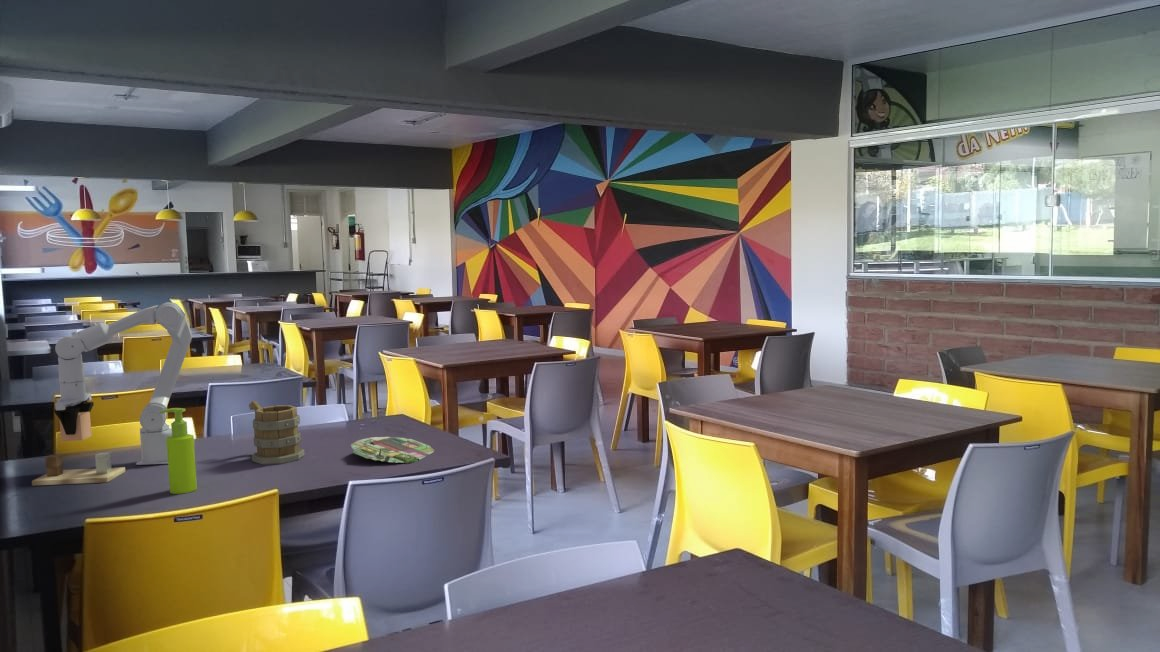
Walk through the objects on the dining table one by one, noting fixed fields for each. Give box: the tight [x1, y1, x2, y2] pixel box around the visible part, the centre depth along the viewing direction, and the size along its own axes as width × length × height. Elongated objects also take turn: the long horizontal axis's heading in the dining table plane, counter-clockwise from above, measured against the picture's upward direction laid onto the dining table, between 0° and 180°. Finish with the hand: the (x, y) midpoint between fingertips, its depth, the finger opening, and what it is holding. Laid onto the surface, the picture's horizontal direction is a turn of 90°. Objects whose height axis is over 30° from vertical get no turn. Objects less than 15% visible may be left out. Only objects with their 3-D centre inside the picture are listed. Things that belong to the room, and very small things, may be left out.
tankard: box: [248, 400, 306, 465], centre depth 232 cm, size 20×13×15 cm, turn 47°
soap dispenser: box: [160, 407, 198, 495], centre depth 199 cm, size 6×7×20 cm
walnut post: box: [44, 453, 64, 477], centre depth 213 cm, size 3×3×5 cm
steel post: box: [94, 451, 113, 474], centre depth 214 cm, size 3×3×5 cm
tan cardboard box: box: [58, 411, 92, 442], centre depth 221 cm, size 5×5×7 cm
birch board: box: [31, 466, 126, 487], centre depth 213 cm, size 18×10×1 cm, turn 95°
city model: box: [350, 436, 435, 465], centre depth 230 cm, size 25×24×6 cm
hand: (76, 432), depth 221 cm, fingers closed on tan cardboard box, 5 cm apart
